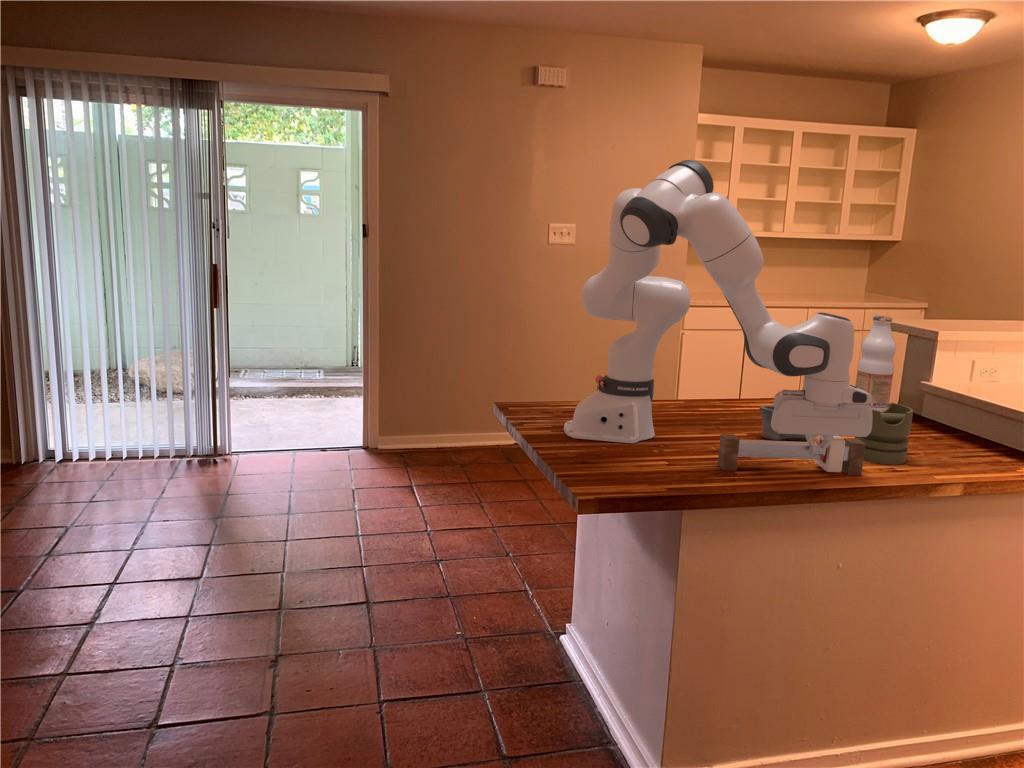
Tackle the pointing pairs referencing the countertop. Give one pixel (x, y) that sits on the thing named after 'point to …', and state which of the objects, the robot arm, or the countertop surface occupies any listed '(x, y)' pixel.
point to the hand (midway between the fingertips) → (817, 454)
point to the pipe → (768, 430)
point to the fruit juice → (877, 363)
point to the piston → (888, 435)
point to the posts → (731, 448)
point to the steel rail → (782, 450)
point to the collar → (833, 454)
